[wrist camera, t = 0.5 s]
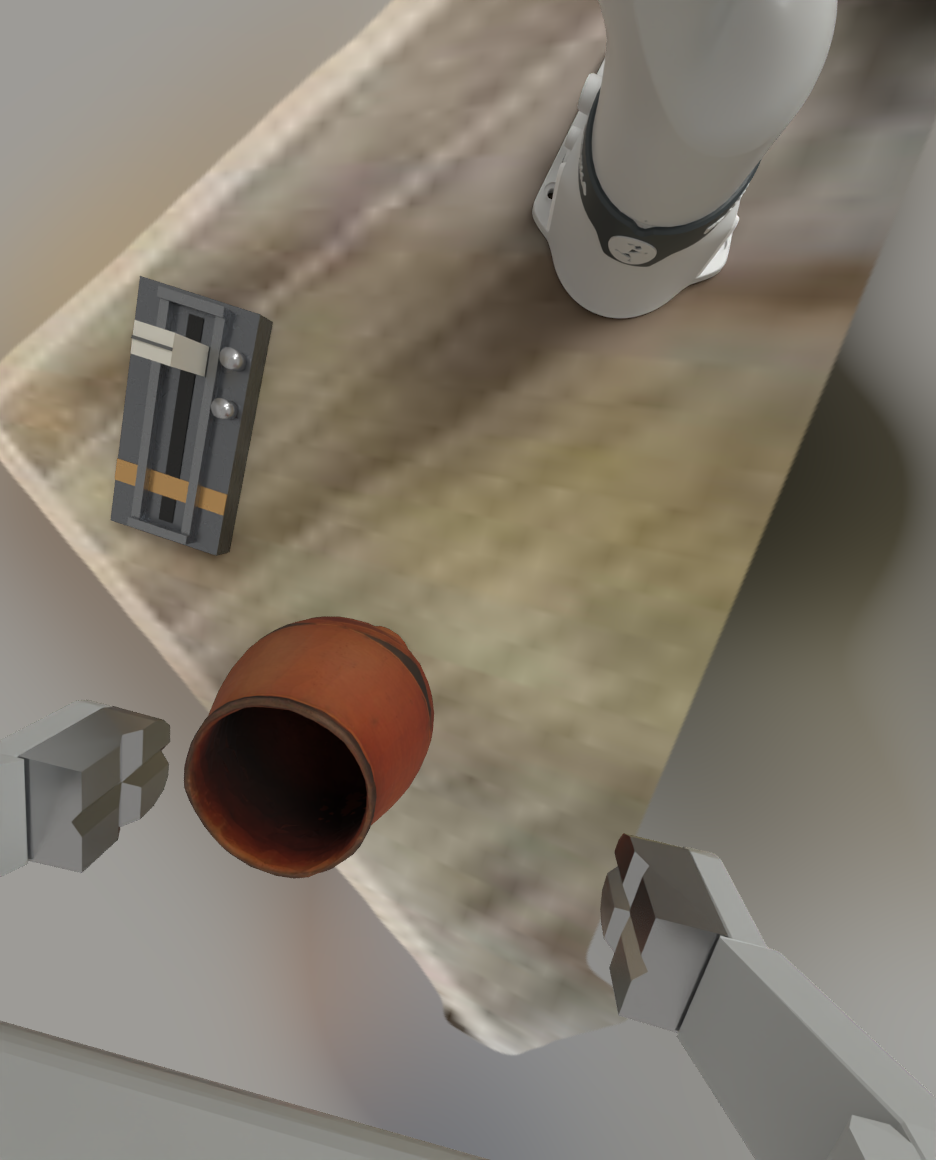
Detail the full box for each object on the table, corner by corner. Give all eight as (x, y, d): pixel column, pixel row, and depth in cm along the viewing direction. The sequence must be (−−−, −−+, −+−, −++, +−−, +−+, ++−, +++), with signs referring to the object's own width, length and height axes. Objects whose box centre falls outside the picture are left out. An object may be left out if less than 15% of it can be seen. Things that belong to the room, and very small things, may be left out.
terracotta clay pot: (407, 554, 54) (318, 621, 30) (481, 695, 57) (456, 859, 33) (272, 621, 58) (95, 730, 33) (349, 750, 60) (237, 936, 36)
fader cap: (172, 335, 48) (133, 319, 43) (209, 346, 48) (173, 332, 43) (168, 365, 49) (129, 353, 44) (204, 376, 49) (169, 365, 44)
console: (158, 285, 50) (128, 269, 46) (272, 322, 50) (252, 309, 46) (127, 518, 56) (99, 521, 52) (229, 551, 56) (207, 557, 52)
